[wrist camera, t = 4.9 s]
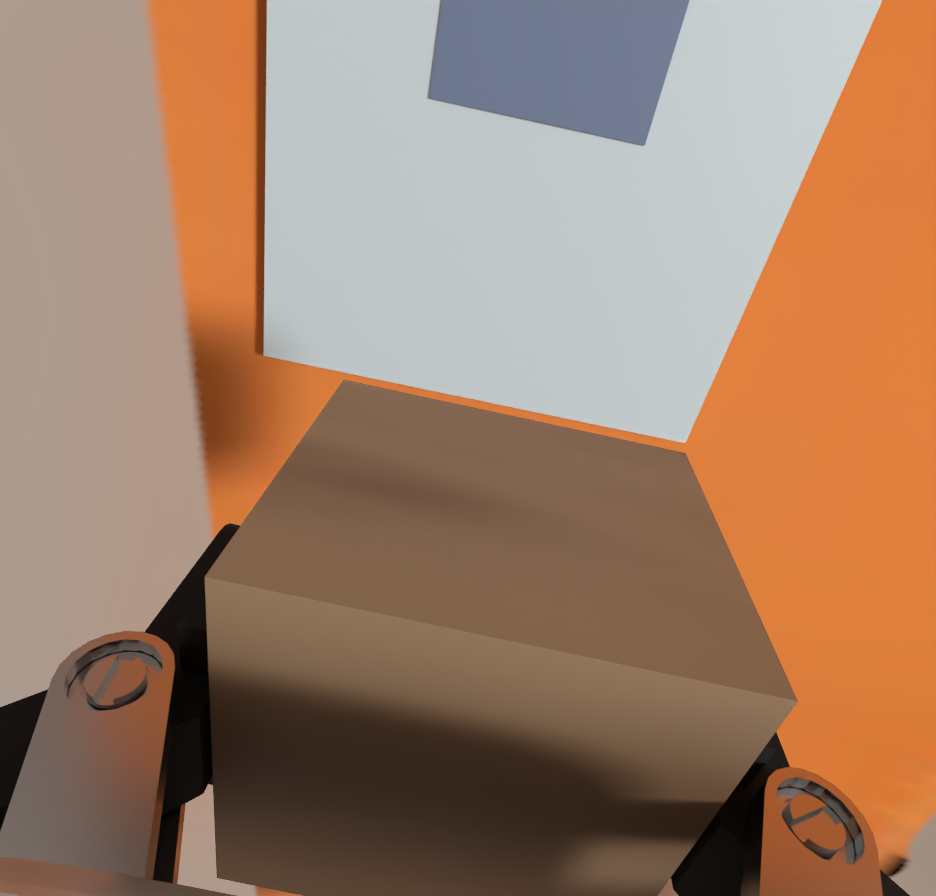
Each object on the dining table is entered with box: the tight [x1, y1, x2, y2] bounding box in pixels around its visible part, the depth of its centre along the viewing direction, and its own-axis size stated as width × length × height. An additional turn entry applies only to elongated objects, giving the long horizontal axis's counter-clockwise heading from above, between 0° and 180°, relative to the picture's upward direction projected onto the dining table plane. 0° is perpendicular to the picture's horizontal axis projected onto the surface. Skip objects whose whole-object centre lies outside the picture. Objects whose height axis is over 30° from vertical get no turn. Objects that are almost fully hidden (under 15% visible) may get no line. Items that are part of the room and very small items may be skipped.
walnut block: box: [205, 380, 798, 896], centre depth 10 cm, size 6×6×5 cm
